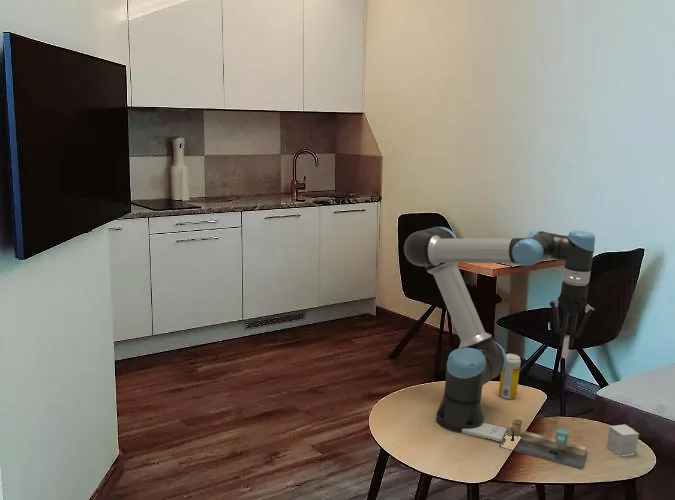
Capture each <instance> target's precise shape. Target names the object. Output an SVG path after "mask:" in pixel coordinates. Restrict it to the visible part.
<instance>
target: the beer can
mask: <svg viewBox="0 0 675 500" xmlns="http://www.w3.org/2000/svg"><path fill="white" fill-rule="evenodd" d="M506 359H507V361H506V366H505V368H504V370H503V371H502V372H501V373H500V380H499V386H498V387H499V388H498V394H499V396H500V397H501V398H503V399H505V400H513V398H514V399H515V398H516V397H517V392H518V386H519V378H520V377H519V376H520V370H521V362H522V360H521V357H520V356H519V355H517V354H515V353H506Z"/></svg>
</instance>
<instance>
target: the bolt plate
mask: <svg viewBox="0 0 675 500" xmlns="http://www.w3.org/2000/svg"><path fill="white" fill-rule="evenodd" d="M506 433H507V431H506ZM506 433H505V434H506ZM505 436H506V435H504V437H505ZM504 437H503V439H502V441H501V442H499V445H500V444H502V445H504V444H503V443H505V441H506V439H505V438H504ZM557 451H558V449H556V448H552V447H548V446H544V445H541V444H537V443H533V442H529V441H526V440H522V439H520V441H519V443H518V444H517V446H516V447H515V449H514V451H513V452H517V453H520V454H525V455H528V456H532V457H535V458H539V459H542V460H546V461H551V462H554V463H557V464H560V465H564V466H569V467H572V468H575V469H579V470H583V469H584V466H585V462H586V458H587V454H588V451H587V450H585V454H584V456H582V455H578V454H574V453H571V452H567V451H563V450H560V453H557Z"/></svg>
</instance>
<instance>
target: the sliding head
mask: <svg viewBox="0 0 675 500" xmlns="http://www.w3.org/2000/svg"><path fill="white" fill-rule="evenodd" d="M569 431H570V430H568V429H564V428H560V427H558V428H557V431H556V436H555V439H556V442H557V443H559V445H558V451H557V453H560V448H561V444H565V445H566V443H567V442H568V438H569V433H570V432H569Z"/></svg>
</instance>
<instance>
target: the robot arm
mask: <svg viewBox="0 0 675 500" xmlns="http://www.w3.org/2000/svg"><path fill="white" fill-rule="evenodd" d="M595 242H596V236H595V234H594V233H593V232H590V231H586V230H577V229H576V230H575V229H573V230H571V231H569V232H568V235H563V234H557V233H551V232H546V231H543V230H541V231H540V230H531V231H530V232H529V234H528V235H527V237H517V238H516V237H507V238H505V237H499V238H498V237H496V238H494V237H493V238H492V237H489V238H488V237H484V238H483V237H481V238H480V237H476V238H475V237H472V238H468V237H467V238H458V237H457V236H456V234H455V233H454V232H453V231H452V230H451V229H450V228H447V227H445V226H433V227H430V228H426V229H423V230H418V231H415V232H413V233H411V234H410V235H409V236H408V237H407V238H406V240H405V241H404V245H403V252H404V255H405V258H406V259H407V261H408V262H409V263H411V264H413V265H414V266H418V267H424V268H425V269H426V272H427V273H429V274H431V275H433V277H434V279H435V282H436V284H437V287H438V289H439V291H440V293H441V297H442V299H443V301H444V303H445V306H446V309H447V311H448V313H449V316H450V318H451V320H452V323H453V326H454V327H455V330H456V333H457V335H458V337H459V341H460V344H459V346H458V348H455V349H454V350H452V351H451V352H450V353H449V355H448V358H447V362H446V372H445V384H444V390H443V391H444V393H443V398H442V400H441V402H440V404H439V406H438V408H437V410H436V415H435V420H436V421H435V422H437V424H438V425H439V426H440V427H442V428H444V429H445V430H448V431H451V432H455V433H460V434H463V433H462V429H473V428H477V427H480V426H481V425H482V424H483V423H485V416H484V413H483V408H482V404H481V403H482V392H483V387H484V385H486V384H488V383H489V382H490V381H492V380H494V379H496V378H497V377H499V376H501V372H502V371H503V370H504V368H505V366H506V361H507V359H506V354H507V353H506V351H505V349H504V348H503V347H502V345H500V344H499V343H498V342H496V341H495V340H494V337H493V336H492V334H490V333H489V332H488V333H487V332H486V331H485V329H484V326H483V324H482V322H481V319H480V317H479V314H478V312H477V309H476V307H475V305H474V303H473V300H472V298H471V294H470V293H469V290H468V288H467V286H466V283H465V281H464V279H463V276H462V274H461V271H460V268H459V266H458V264H459V263H461V264H462V263H464V264H465V263H466V264H468V263H469V264H470V263H473V264H477V263H478V264H483V263H484V264H518V265H520V266H524V267H528V266H529V267H530V266H534V265H536V264H538V263H540V262H542V261H544V260H546V259H552V260H553V259H554V260H559V261H564V267H563V274H562V280H563V281H561V288H560V294H559V295H558V298H557V299H552V300H551V301H550V302H549V306H550V308H551V309H552V317H553V326H554V327H553V328H554V333H555V334H558V335H559V336H560V338H559V347H562V348H561V349H562V351H561V357H560V358H562V359H567V357H568V354H569V349H572V348H573V346H574V342H575V341H574V340H575V339H576V338H580V337H581V335H582V333H583V331H584V330H585V329H584V328H585V326H586V324H587V323H588V320H589V317H590V316H591V315H593V313H594V311H595V308H594V307H592V306H590V304H588V299H587V298H588V297H587V296H588V291H589V285H588V284H589V283H590V277H591V272H592V271H591V270H592V264H593V259H594V253H595V252H594V251H595V244H596V243H595ZM559 305H560V307H561V309H562V311H563V315H562V321H561V322H562V323H561V327H560V316H559ZM582 310H584V312H585V314H584V316H583V318H582V321H581V323H580V325H579V327H578V329H577V331H576V328H577V322H578V315H579V313H580V312H581V311H582ZM570 313H571V315H572V316H571V324H570V330H569V335H568V334H566V333H567V329H568V321H569V314H570Z"/></svg>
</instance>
